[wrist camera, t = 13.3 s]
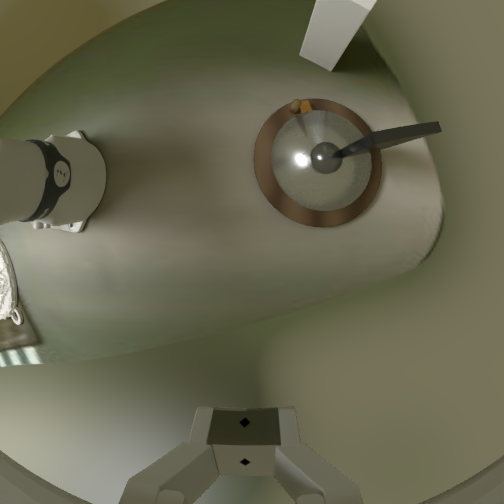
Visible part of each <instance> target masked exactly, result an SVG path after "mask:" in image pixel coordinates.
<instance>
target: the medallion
mask: <svg viewBox="0 0 504 504" xmlns="http://www.w3.org/2000/svg"><path fill="white" fill-rule="evenodd" d="M16 306H17V285H16V279H15V274H14V270H13V267H12V263H11V260H10V258H9V255H8V252H7V250H6V248H5V246H4V245H3V243H2V241H1V240H0V320H1V319H7V318H9V317H12V319H13V321H14V322H15V323H16V324H18V325H19V324H21V323H22V322H23V317H22V314H21V311H20V310H19V308H18V307H16ZM14 312H16V314H17V316H18V319H17V318H16V316H15V313H14Z"/></svg>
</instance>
